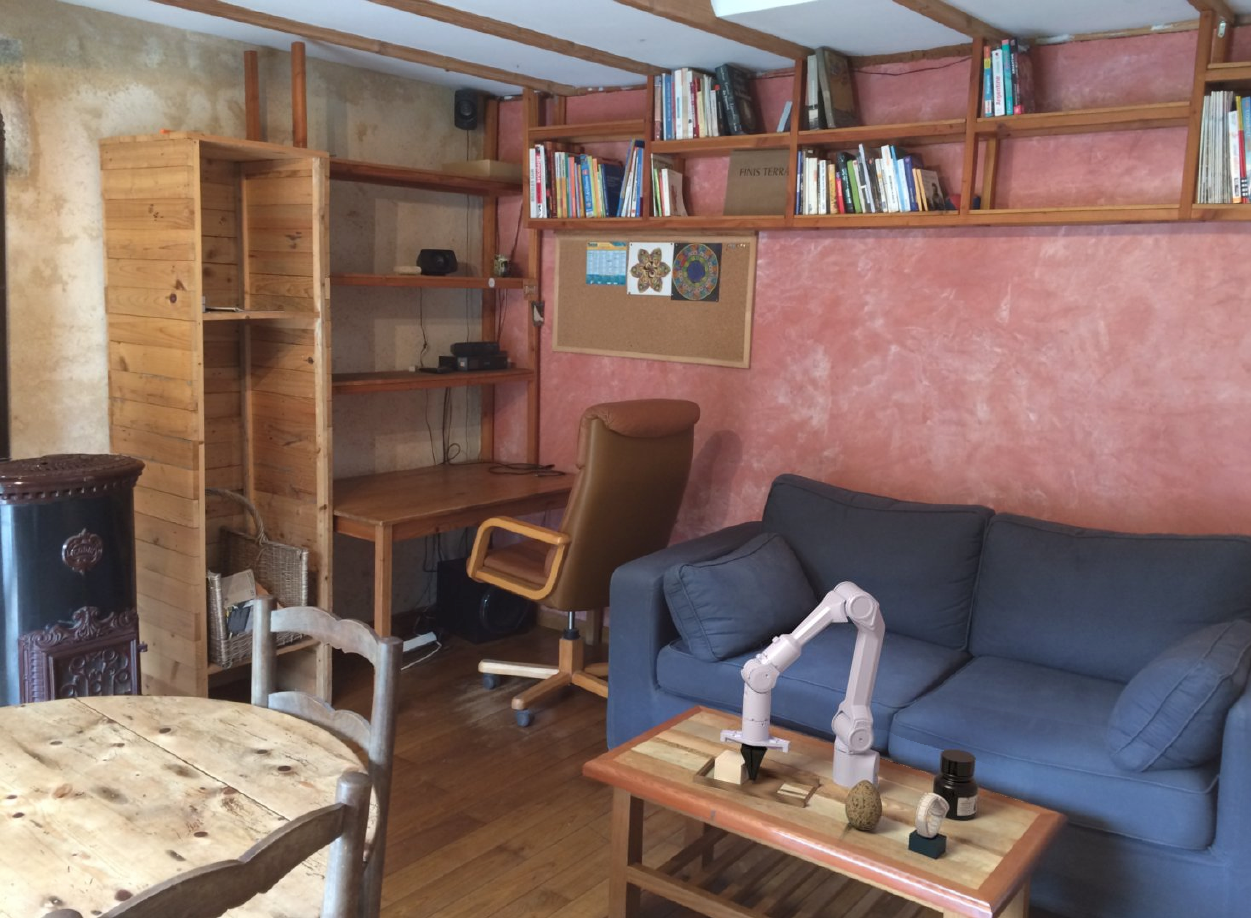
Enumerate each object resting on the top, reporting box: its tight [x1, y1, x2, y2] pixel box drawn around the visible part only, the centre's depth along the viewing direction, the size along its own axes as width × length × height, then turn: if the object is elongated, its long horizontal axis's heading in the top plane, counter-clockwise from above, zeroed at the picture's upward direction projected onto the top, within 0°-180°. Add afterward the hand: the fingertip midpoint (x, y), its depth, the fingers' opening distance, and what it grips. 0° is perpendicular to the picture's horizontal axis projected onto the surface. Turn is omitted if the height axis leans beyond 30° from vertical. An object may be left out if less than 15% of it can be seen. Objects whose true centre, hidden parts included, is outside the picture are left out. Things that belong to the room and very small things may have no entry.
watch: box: [907, 792, 949, 860], centre depth 208 cm, size 6×8×11 cm
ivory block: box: [714, 749, 749, 785], centre depth 235 cm, size 6×6×4 cm
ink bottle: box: [932, 748, 979, 821], centre depth 225 cm, size 10×9×12 cm
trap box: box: [692, 756, 821, 809], centre depth 232 cm, size 24×12×3 cm, turn 65°
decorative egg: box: [844, 780, 883, 831], centre depth 217 cm, size 7×7×10 cm
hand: (752, 778), depth 232 cm, fingers closed
